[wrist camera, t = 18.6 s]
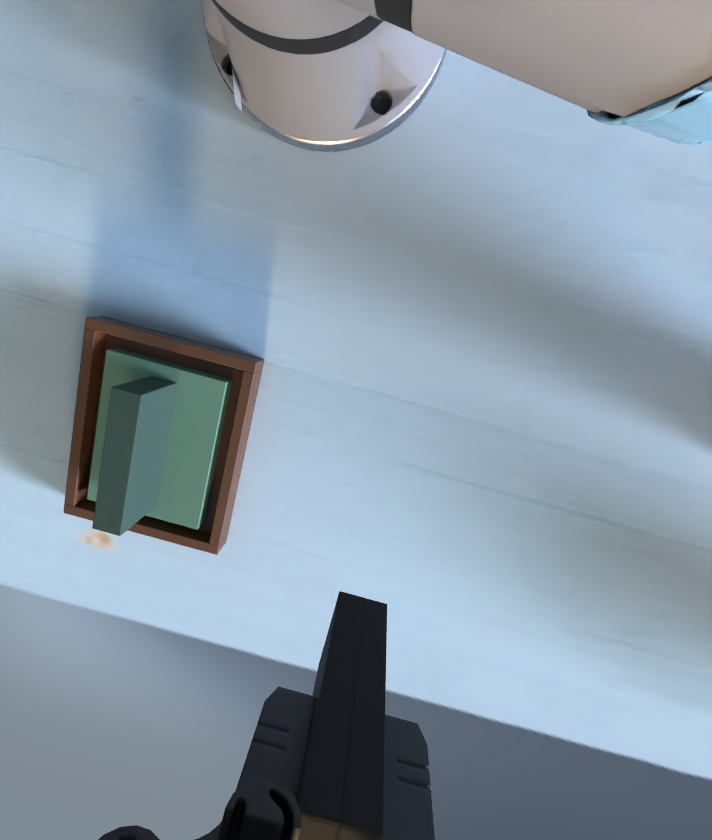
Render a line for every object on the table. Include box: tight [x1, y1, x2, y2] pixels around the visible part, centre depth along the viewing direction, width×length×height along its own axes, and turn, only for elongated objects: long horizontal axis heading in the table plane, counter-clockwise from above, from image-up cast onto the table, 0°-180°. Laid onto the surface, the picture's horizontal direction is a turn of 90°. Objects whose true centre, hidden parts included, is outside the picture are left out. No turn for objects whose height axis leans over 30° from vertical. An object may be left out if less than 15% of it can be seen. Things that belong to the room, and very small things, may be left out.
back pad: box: [87, 348, 233, 536], centre depth 34 cm, size 12×9×6 cm
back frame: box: [64, 316, 264, 555], centre depth 37 cm, size 16×13×2 cm
